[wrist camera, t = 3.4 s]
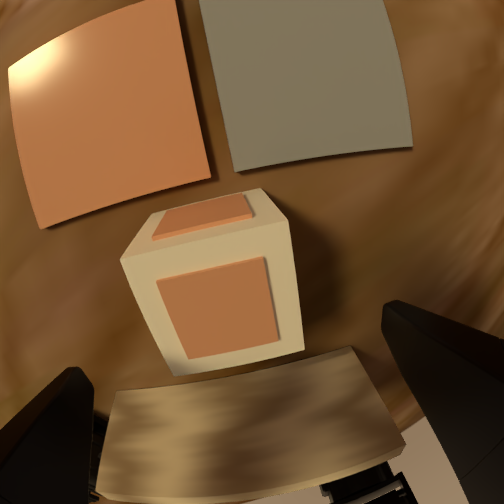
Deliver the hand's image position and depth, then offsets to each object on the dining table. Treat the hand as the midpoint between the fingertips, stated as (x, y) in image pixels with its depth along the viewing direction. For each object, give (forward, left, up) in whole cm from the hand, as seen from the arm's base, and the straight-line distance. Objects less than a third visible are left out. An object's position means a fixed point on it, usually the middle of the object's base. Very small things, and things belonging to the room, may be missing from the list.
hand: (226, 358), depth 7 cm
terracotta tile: (+4, -8, -7) cm, 11 cm away
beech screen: (+2, +10, -7) cm, 12 cm away
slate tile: (-6, -8, -7) cm, 12 cm away
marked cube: (0, 0, -7) cm, 7 cm away
